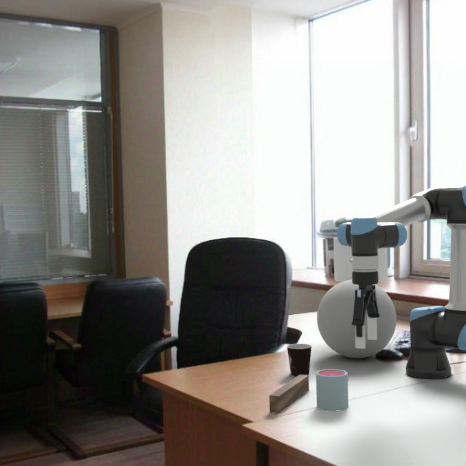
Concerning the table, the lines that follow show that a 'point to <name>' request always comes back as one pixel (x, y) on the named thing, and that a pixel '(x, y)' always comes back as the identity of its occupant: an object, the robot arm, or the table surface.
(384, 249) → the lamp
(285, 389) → the batten
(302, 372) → the coffee mug
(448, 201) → the robot arm
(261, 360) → the table surface
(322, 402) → the mug
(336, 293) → the sphere
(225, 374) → the table surface
